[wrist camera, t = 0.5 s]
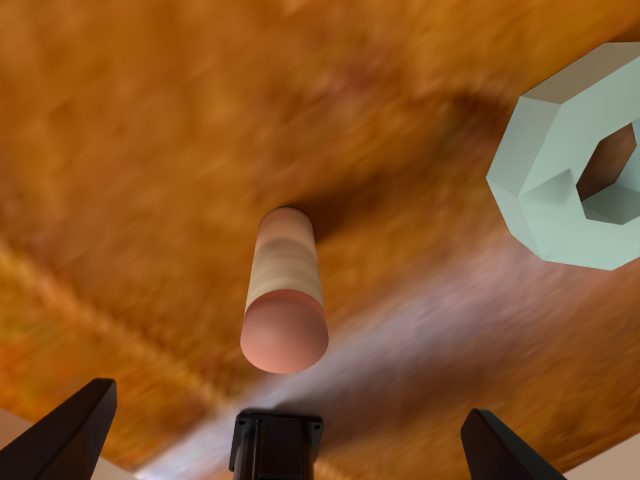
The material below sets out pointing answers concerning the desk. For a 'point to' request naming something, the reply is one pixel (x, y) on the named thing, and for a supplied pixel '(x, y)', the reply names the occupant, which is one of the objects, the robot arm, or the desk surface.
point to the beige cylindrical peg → (284, 296)
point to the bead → (573, 162)
